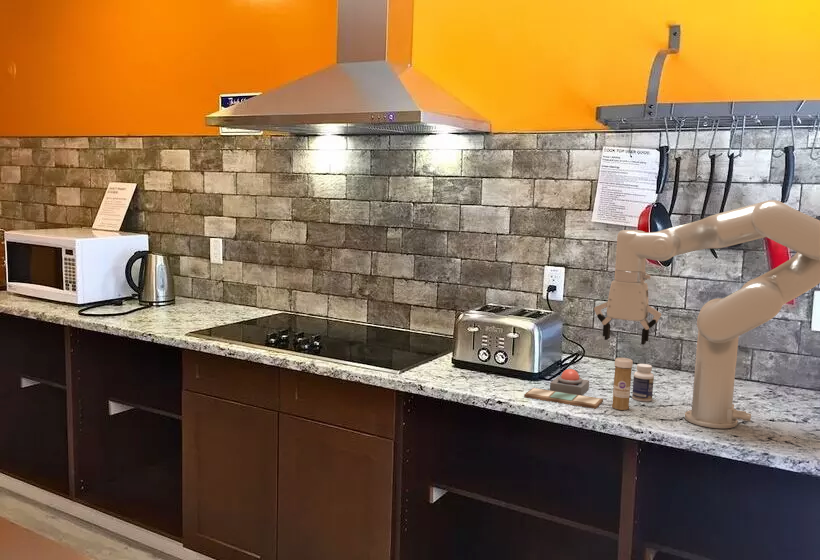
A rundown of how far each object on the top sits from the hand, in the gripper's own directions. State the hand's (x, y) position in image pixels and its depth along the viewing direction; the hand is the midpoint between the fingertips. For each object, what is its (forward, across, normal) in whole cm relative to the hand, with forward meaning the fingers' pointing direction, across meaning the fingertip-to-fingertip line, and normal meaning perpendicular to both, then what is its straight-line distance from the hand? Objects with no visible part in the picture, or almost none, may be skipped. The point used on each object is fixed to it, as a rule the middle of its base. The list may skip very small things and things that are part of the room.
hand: (625, 341), depth 200 cm
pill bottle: (+18, -4, -12) cm, 22 cm away
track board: (+18, +16, 0) cm, 24 cm away
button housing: (+18, +16, -10) cm, 26 cm away
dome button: (+18, +17, -10) cm, 26 cm away
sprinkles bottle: (+18, 0, 0) cm, 18 cm away
